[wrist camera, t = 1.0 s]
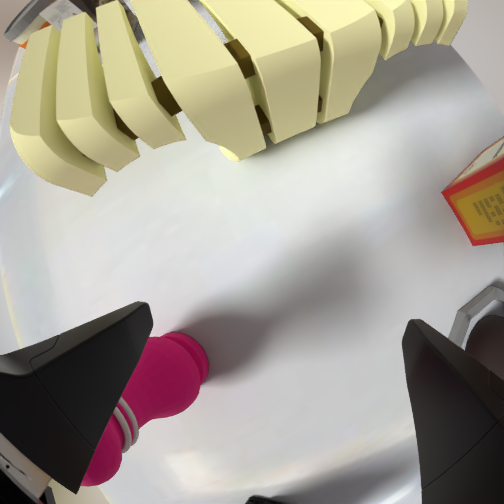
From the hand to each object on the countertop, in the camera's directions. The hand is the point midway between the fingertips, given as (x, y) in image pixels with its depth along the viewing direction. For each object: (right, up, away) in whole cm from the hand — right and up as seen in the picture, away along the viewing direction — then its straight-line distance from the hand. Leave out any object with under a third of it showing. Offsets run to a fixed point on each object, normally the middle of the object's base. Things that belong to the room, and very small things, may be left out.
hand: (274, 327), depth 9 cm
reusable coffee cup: (-42, +48, +25) cm, 69 cm away
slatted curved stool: (0, +19, +17) cm, 26 cm away
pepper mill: (-8, -9, +17) cm, 21 cm away
